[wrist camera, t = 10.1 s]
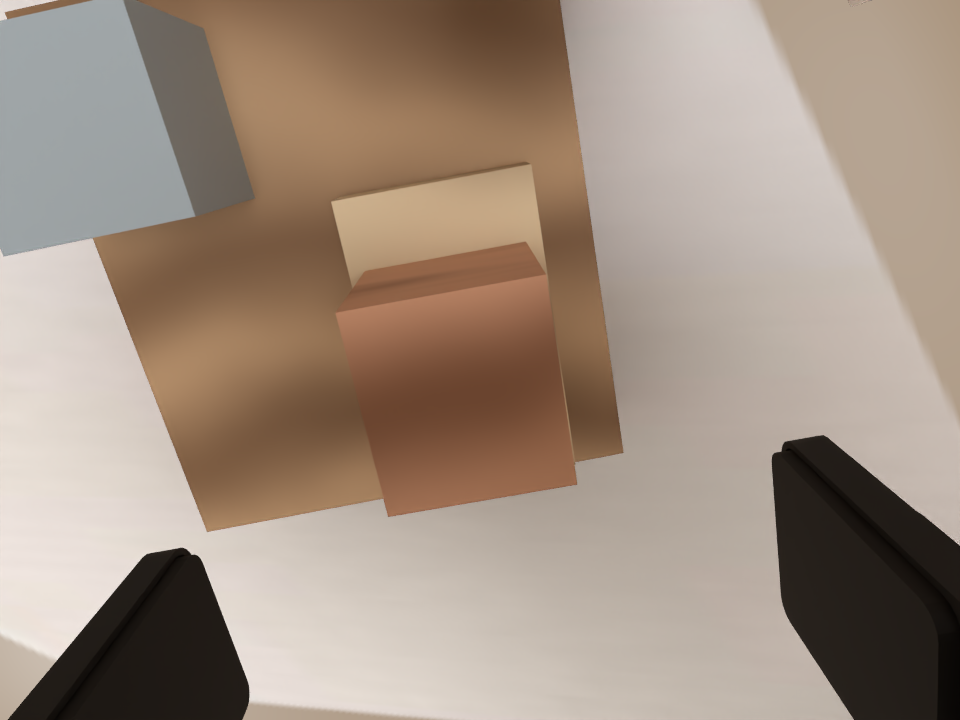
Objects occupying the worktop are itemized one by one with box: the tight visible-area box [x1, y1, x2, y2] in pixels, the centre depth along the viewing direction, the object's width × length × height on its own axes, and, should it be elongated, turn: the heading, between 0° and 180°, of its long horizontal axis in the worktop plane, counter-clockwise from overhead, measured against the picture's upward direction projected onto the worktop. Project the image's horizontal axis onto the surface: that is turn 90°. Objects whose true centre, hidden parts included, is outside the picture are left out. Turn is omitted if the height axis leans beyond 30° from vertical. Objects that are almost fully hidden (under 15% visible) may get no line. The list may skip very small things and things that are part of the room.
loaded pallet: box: [331, 162, 577, 517], centre depth 19 cm, size 10×6×7 cm, turn 10°
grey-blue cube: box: [0, 0, 255, 256], centre depth 18 cm, size 5×5×5 cm
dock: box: [5, 0, 623, 532], centre depth 24 cm, size 18×16×4 cm
